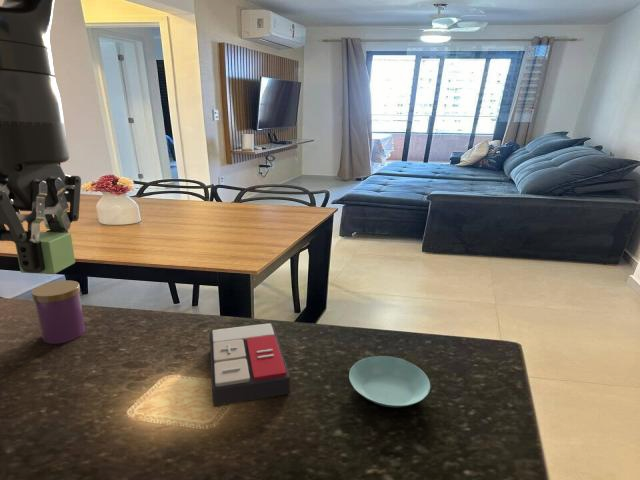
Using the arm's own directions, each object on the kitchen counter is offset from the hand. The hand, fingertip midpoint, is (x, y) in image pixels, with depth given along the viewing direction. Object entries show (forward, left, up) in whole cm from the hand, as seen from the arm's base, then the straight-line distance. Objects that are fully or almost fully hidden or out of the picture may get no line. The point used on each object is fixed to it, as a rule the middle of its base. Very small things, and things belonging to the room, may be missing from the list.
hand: (48, 264), depth 47 cm
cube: (0, 0, 0) cm, 0 cm away
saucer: (+32, +31, -21) cm, 49 cm away
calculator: (+12, +21, -21) cm, 32 cm away
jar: (-21, +6, -21) cm, 30 cm away
